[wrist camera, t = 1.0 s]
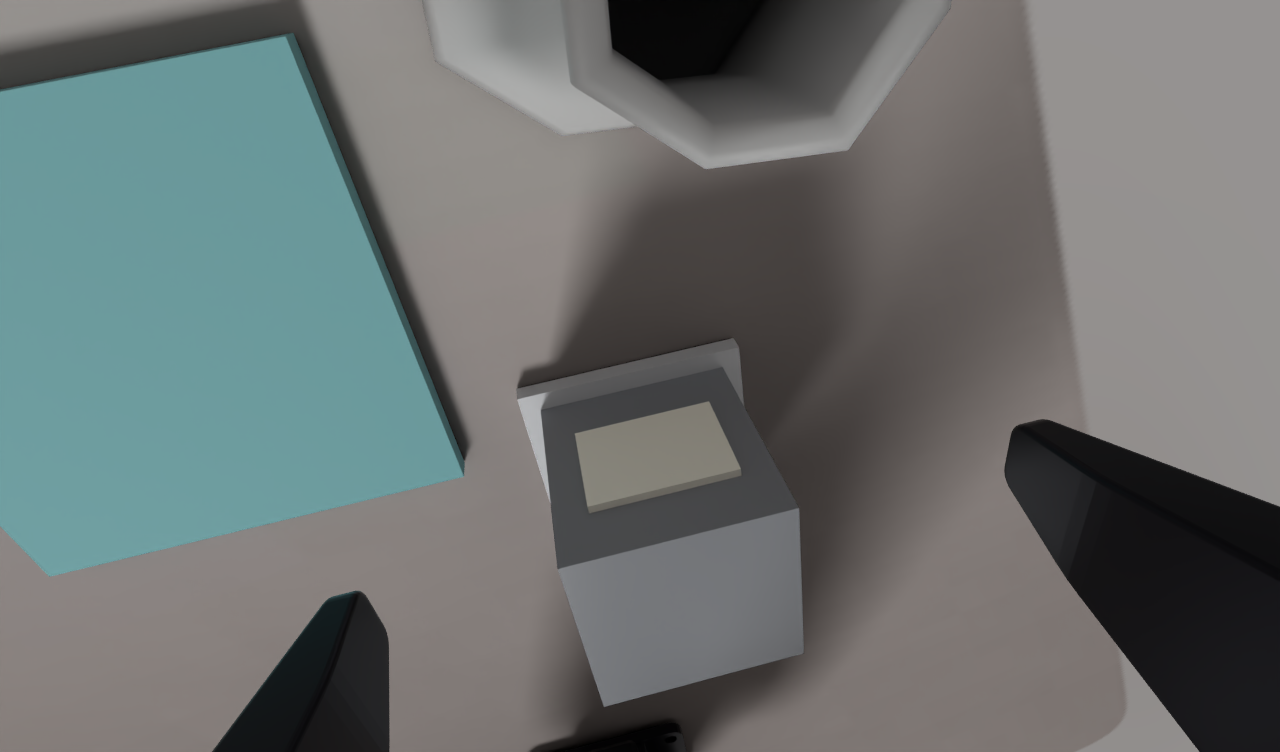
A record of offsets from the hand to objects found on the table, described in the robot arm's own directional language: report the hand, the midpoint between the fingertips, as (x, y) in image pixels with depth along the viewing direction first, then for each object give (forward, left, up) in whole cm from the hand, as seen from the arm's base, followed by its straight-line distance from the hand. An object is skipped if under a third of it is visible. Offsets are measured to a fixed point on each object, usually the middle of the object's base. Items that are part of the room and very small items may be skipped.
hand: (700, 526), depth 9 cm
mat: (0, +10, -9) cm, 14 cm away
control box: (-6, 0, -9) cm, 11 cm away
